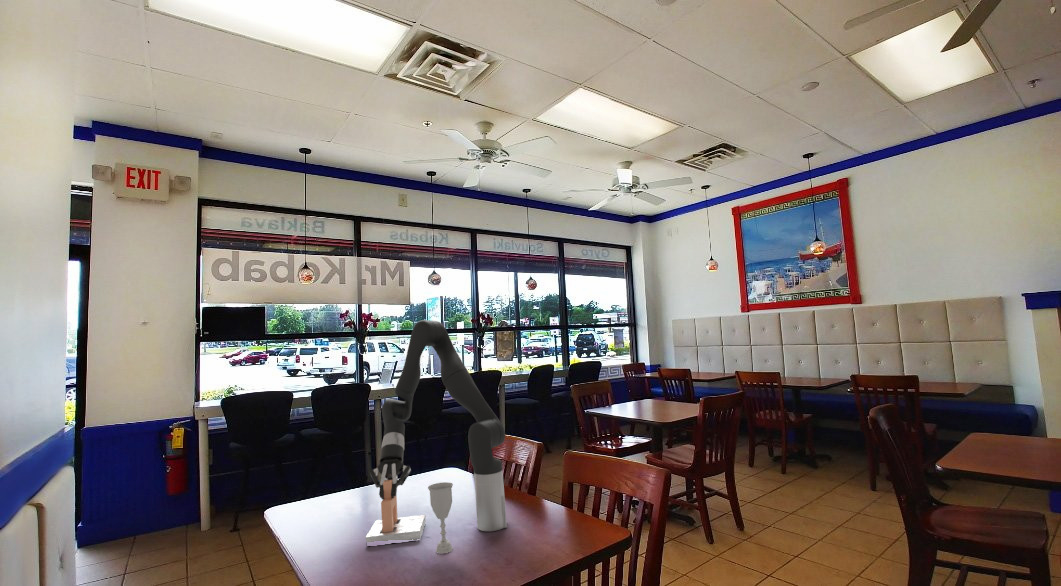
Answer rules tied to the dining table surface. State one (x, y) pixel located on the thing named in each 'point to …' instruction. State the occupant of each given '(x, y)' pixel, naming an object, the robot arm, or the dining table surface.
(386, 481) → the clip
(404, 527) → the plate
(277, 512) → the dining table surface
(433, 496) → the chalice
